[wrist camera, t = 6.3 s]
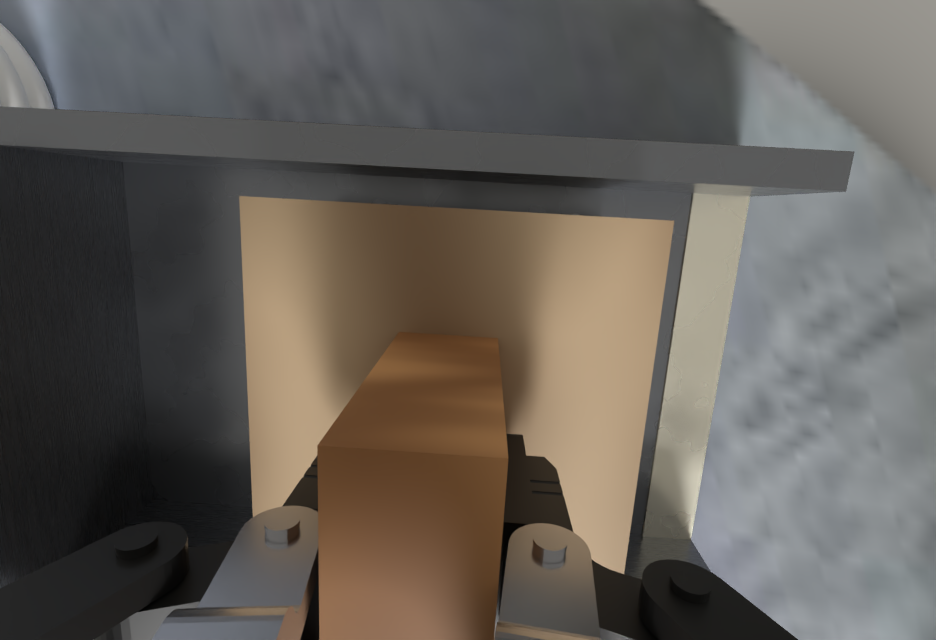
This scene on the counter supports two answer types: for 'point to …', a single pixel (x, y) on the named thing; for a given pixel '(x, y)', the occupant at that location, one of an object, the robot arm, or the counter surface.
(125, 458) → the bay
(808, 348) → the counter surface
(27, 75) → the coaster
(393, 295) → the wooden block with upright
